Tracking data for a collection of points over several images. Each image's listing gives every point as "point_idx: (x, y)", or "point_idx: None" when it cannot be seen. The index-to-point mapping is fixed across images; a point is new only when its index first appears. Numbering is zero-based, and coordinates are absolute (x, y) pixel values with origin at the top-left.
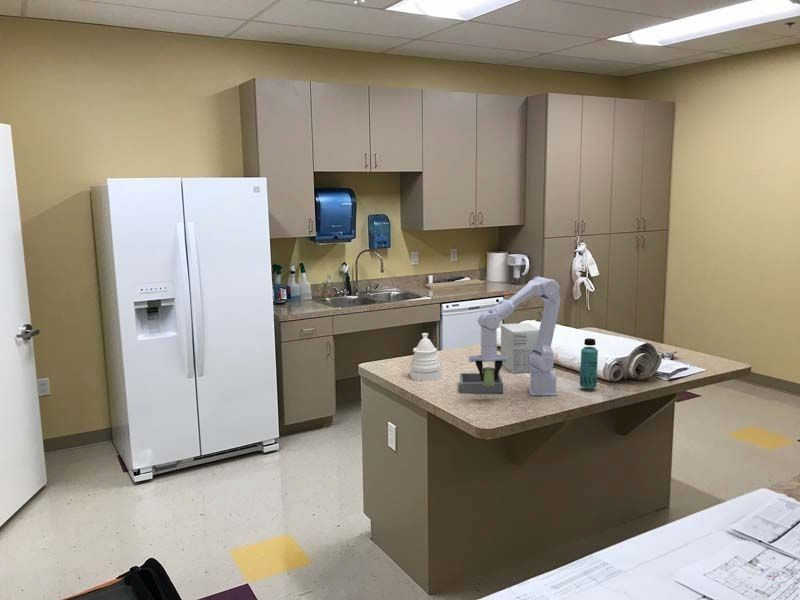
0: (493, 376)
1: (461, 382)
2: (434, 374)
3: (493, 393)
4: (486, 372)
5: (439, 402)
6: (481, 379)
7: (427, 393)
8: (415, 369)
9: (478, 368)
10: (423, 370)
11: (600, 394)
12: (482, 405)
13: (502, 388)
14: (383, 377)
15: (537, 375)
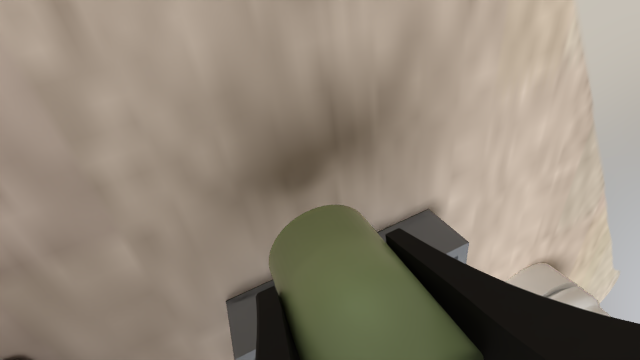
0: (307, 320)
1: (464, 256)
2: None
3: None
4: (425, 318)
5: (539, 33)
6: (412, 237)
7: (551, 154)
8: (584, 291)
9: (584, 314)
10: (566, 296)
11: None
12: (301, 40)
13: (234, 325)
14: (611, 240)
15: None
